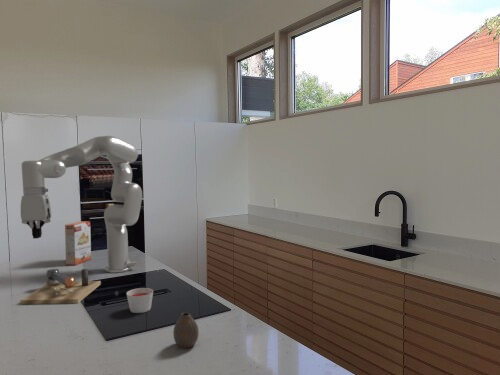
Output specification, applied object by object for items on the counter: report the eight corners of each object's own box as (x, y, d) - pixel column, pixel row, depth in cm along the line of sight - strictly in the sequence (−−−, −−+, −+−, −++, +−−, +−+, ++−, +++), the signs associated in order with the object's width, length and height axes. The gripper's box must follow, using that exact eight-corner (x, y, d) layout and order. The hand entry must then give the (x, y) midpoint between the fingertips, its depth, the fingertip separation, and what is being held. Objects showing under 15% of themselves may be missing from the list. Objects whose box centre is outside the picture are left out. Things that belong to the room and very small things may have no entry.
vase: (175, 340, 114) (174, 310, 113) (199, 338, 114) (198, 309, 114) (172, 351, 107) (171, 319, 106) (198, 350, 107) (197, 318, 107)
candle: (158, 306, 141) (158, 289, 141) (144, 316, 132) (143, 297, 132) (137, 304, 144) (136, 287, 144) (121, 313, 135) (120, 294, 135)
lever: (45, 277, 164) (45, 270, 164) (56, 275, 167) (56, 268, 167) (65, 288, 149) (65, 280, 149) (77, 286, 152) (77, 277, 152)
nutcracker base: (100, 284, 169) (99, 265, 168) (78, 303, 146) (77, 281, 145) (51, 285, 168) (50, 266, 168) (20, 304, 145) (19, 282, 145)
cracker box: (76, 265, 202) (74, 224, 201) (65, 265, 203) (63, 224, 202) (92, 259, 216) (90, 220, 214) (82, 258, 217) (80, 220, 216)
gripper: (57, 190, 160) (60, 235, 162) (20, 191, 160) (23, 236, 161) (49, 192, 153) (52, 239, 154) (9, 193, 152) (12, 240, 154)
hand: (37, 237), depth 158 cm, fingers closed
